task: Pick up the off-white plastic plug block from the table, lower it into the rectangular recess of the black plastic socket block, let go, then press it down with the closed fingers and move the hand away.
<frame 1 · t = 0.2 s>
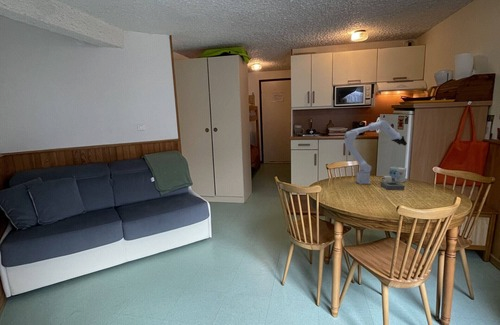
hand: (403, 144, 209), 31 cm above the table, tool tilted 45°, fingers open, 7 cm apart
light bulb box: (396, 181, 221), on the table
socket: (392, 187, 201), on the table
plug: (387, 183, 212), on the table
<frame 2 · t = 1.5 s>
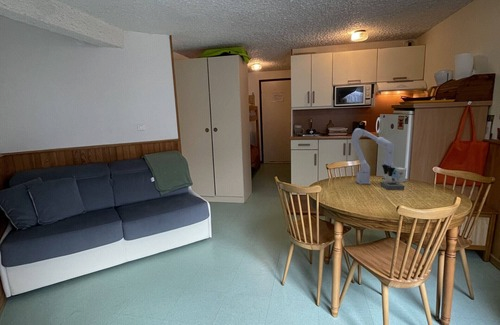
hand: (387, 175, 211), 7 cm above the table, tool pointing down, fingers open, 7 cm apart
nothing on the table moved.
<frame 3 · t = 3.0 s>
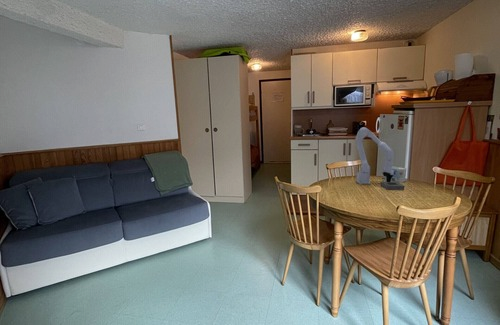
hand: (387, 181, 212), 2 cm above the table, tool pointing down, fingers closed on plug, 3 cm apart
plug: (387, 183, 212), on the table, touching gripper
everything else where it was.
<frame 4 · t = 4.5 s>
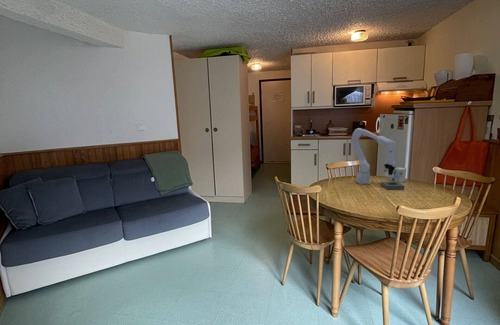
hand: (389, 174, 208), 8 cm above the table, tool pointing down, fingers closed on plug, 3 cm apart
plug: (389, 176, 208), point 7 cm above the table, touching gripper
everything else where it was.
when the fingers open (4 cm above the table, at t = 6.3 s): plug drops 1 cm, resting on socket.
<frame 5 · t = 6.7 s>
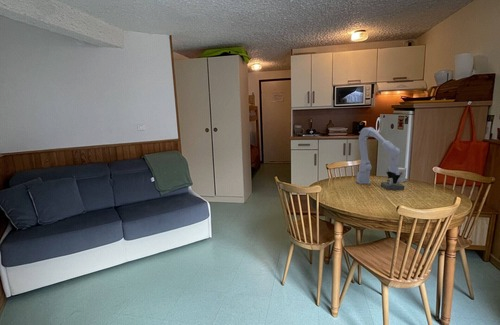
hand: (392, 182, 201), 4 cm above the table, tool pointing down, fingers open, 6 cm apart
plug: (392, 186, 201), point 1 cm above the table, touching socket
everything else where it was.
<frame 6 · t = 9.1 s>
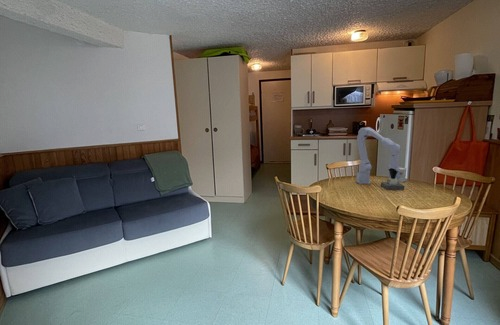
hand: (392, 178, 200), 7 cm above the table, tool pointing down, fingers closed, pressing on plug
plug: (392, 186, 201), point 1 cm above the table, touching gripper, socket
everything else where it was.
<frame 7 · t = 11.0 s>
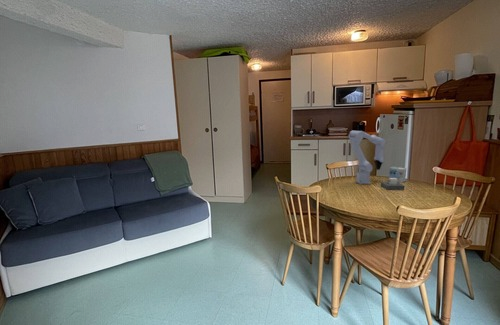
hand: (378, 169, 220), 9 cm above the table, tool pointing down, fingers closed
plug: (392, 186, 201), point 1 cm above the table, touching socket
everything else where it was.
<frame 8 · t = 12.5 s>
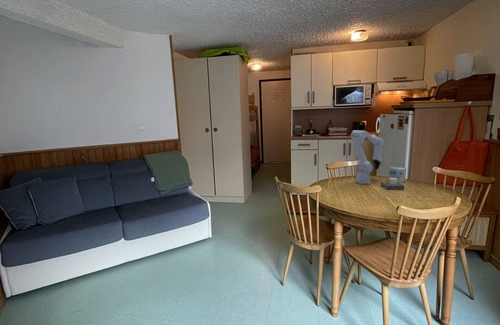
hand: (376, 169, 222), 9 cm above the table, tool pointing down, fingers closed
nothing on the table moved.
at the end: plug 0.2 cm off-centre on the socket, point 1.0 cm above the socket's base; plug tilted 0°; the gripper is holding nothing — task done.
